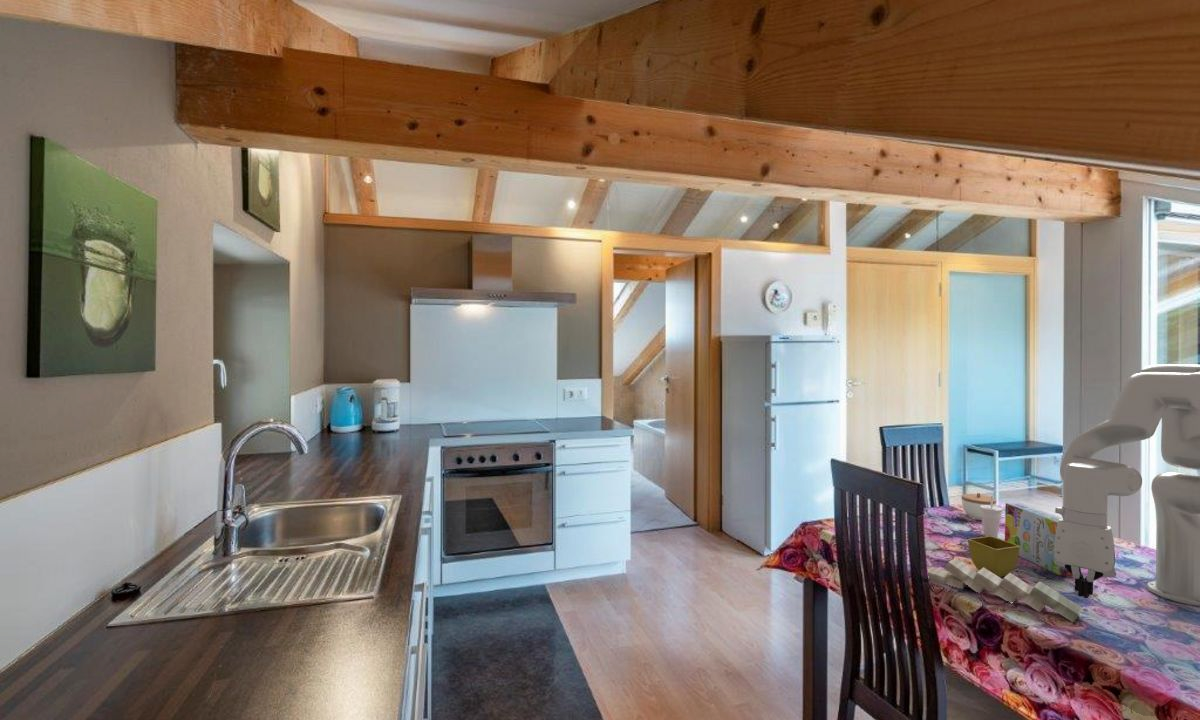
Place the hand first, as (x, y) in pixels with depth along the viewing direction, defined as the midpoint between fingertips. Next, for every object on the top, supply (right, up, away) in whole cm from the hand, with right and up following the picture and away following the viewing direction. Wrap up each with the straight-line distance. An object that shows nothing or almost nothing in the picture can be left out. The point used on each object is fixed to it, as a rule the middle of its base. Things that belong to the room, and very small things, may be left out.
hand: (1083, 595), depth 123 cm
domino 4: (-4, -5, +5) cm, 9 cm away
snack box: (+19, -6, +35) cm, 41 cm away
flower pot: (-1, -6, +27) cm, 28 cm away
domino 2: (-12, -5, +15) cm, 20 cm away
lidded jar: (+31, -5, +78) cm, 84 cm away
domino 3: (-8, -5, +10) cm, 13 cm away
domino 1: (-15, -5, +18) cm, 24 cm away
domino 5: (-1, -5, +1) cm, 5 cm away
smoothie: (+21, -6, +58) cm, 62 cm away
